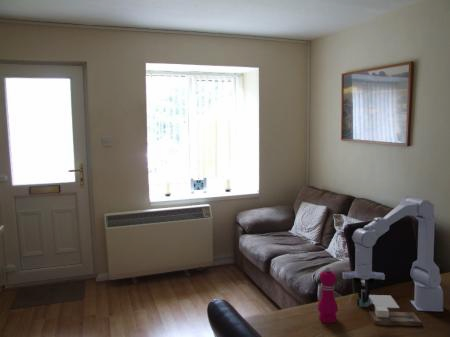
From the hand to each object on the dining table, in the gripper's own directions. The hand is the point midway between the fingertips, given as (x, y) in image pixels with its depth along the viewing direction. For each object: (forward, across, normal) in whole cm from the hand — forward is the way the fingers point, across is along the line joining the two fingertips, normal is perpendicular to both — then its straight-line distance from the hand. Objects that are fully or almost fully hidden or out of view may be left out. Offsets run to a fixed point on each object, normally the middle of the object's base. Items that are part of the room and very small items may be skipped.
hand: (363, 297), depth 139 cm
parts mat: (+8, +12, +15) cm, 21 cm away
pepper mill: (+9, -13, 0) cm, 15 cm away
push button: (+9, +4, +12) cm, 15 cm away
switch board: (+8, +11, 0) cm, 14 cm away
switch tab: (+7, +7, 0) cm, 9 cm away
